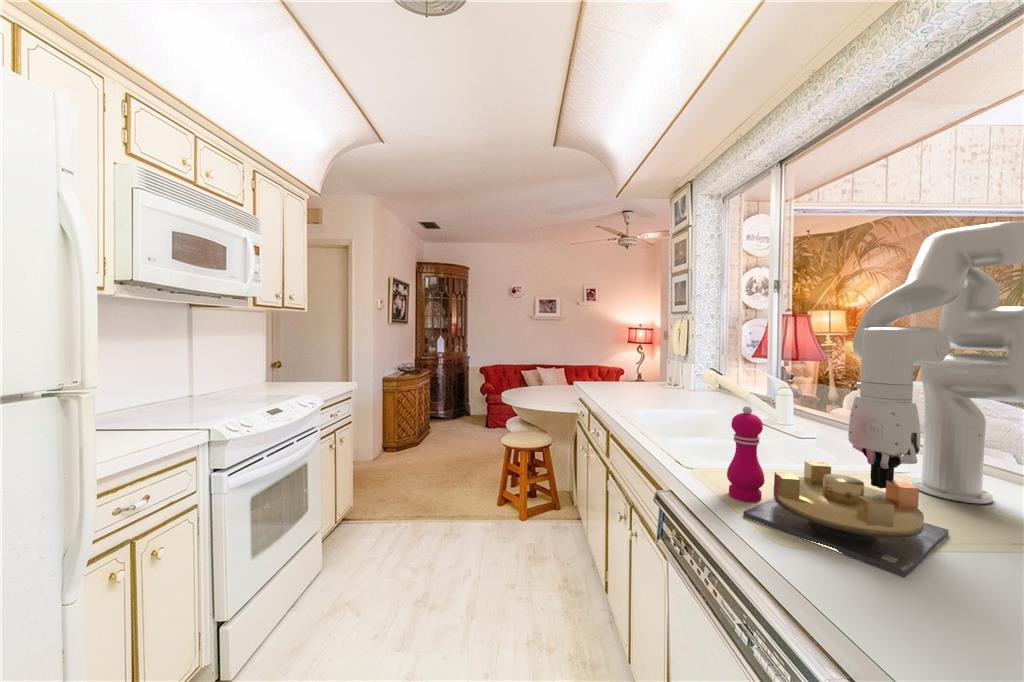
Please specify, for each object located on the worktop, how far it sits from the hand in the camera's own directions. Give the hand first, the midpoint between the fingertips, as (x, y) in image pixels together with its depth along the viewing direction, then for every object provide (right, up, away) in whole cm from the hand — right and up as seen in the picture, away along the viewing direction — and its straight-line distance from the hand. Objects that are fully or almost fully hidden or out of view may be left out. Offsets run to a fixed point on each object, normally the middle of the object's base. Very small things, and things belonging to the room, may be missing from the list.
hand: (881, 486), depth 82 cm
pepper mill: (-20, -6, +11) cm, 24 cm away
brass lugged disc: (-9, -4, -2) cm, 10 cm away
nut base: (-9, -7, -2) cm, 12 cm away
